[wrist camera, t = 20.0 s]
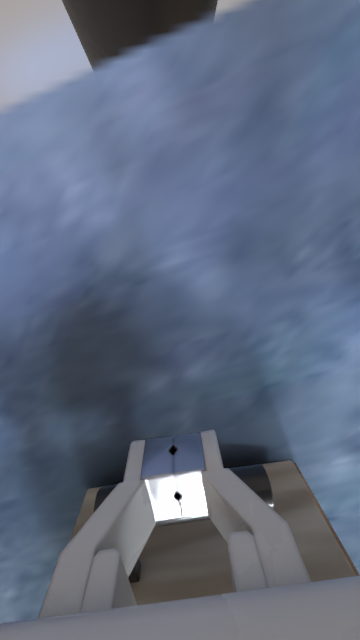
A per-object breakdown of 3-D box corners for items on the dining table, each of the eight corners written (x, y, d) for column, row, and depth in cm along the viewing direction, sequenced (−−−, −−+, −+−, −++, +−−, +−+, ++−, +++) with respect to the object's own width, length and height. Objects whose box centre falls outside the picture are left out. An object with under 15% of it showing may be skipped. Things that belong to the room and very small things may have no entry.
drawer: (67, 424, 13) (-37, 601, 7) (289, 392, 13) (408, 540, 6) (131, 627, 18) (107, 850, 11) (296, 605, 18) (369, 817, 11)
